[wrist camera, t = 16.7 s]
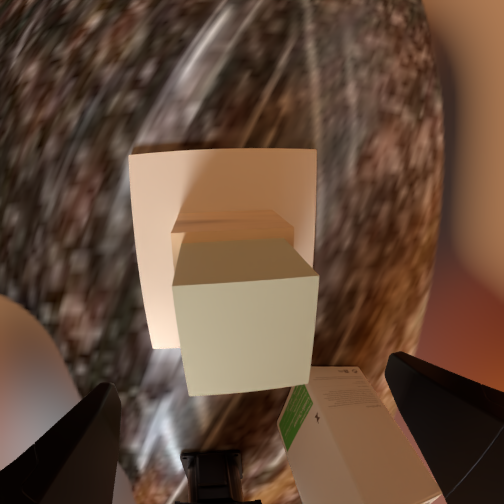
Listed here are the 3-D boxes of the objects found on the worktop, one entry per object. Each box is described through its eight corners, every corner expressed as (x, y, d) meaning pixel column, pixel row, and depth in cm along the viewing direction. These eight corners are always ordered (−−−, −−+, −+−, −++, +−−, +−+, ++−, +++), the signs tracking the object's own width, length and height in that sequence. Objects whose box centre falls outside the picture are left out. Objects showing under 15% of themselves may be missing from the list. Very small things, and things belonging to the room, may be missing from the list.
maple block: (271, 294, 22) (289, 331, 17) (185, 299, 21) (182, 339, 16) (272, 209, 20) (294, 227, 15) (178, 213, 19) (170, 233, 14)
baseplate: (305, 332, 24) (307, 336, 23) (153, 344, 22) (152, 348, 22) (313, 149, 20) (316, 149, 19) (130, 155, 18) (128, 155, 17)
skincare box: (299, 362, 25) (373, 520, 10) (362, 364, 26) (450, 488, 12) (274, 425, 27) (316, 560, 12) (331, 423, 29) (387, 538, 14)
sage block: (281, 325, 17) (308, 383, 12) (190, 332, 16) (189, 396, 11) (283, 237, 15) (319, 275, 11) (181, 243, 14) (171, 286, 10)
